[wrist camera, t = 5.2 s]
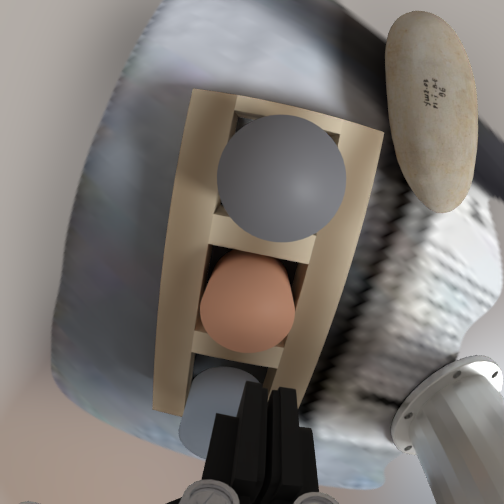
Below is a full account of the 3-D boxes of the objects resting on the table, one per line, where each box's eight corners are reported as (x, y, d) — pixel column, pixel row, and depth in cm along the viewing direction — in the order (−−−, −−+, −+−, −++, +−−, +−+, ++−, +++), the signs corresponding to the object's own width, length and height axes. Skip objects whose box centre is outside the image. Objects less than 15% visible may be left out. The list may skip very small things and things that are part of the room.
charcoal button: (334, 137, 15) (358, 132, 11) (313, 230, 16) (328, 254, 12) (238, 115, 15) (231, 102, 11) (219, 210, 16) (206, 228, 12)
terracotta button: (297, 255, 19) (305, 280, 15) (278, 324, 21) (281, 359, 17) (218, 238, 19) (207, 260, 15) (206, 309, 21) (194, 343, 17)
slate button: (271, 374, 19) (273, 419, 15) (255, 423, 20) (254, 467, 16) (194, 359, 19) (181, 403, 15) (187, 411, 20) (176, 453, 16)
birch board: (366, 135, 18) (384, 132, 15) (284, 407, 24) (286, 434, 21) (203, 98, 17) (192, 88, 14) (162, 384, 23) (152, 409, 21)
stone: (401, 226, 17) (370, 3, 10) (391, 180, 21) (364, 15, 15) (491, 222, 15) (482, 6, 8) (464, 177, 19) (447, 13, 13)
